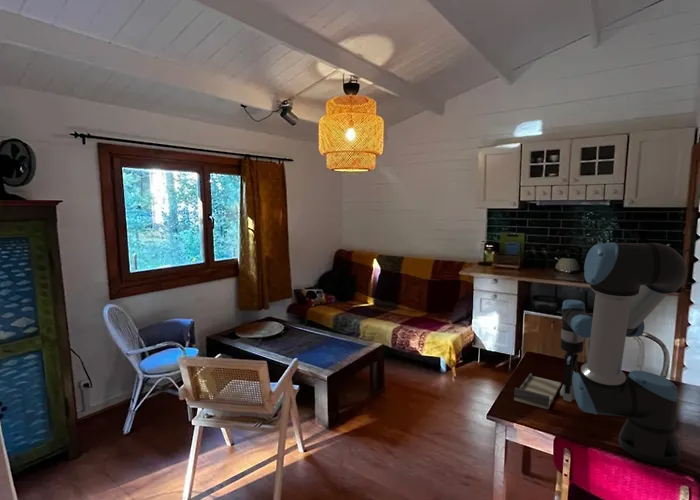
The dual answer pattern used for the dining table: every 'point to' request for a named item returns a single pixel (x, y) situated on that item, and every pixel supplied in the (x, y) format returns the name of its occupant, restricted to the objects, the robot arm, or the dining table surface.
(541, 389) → the stand board
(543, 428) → the dining table surface
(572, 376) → the flask
